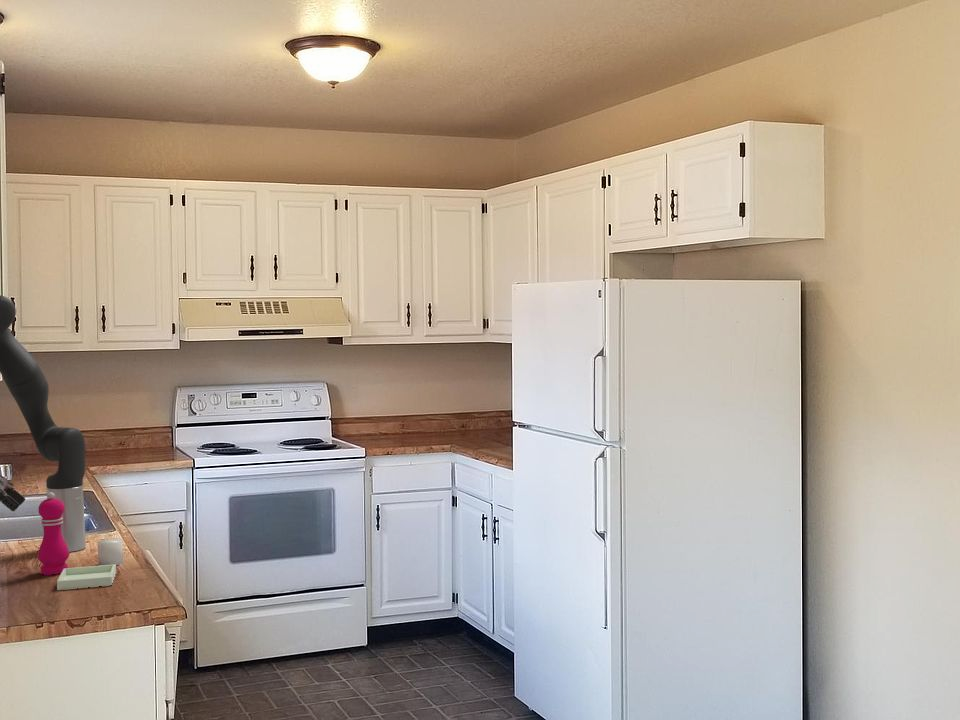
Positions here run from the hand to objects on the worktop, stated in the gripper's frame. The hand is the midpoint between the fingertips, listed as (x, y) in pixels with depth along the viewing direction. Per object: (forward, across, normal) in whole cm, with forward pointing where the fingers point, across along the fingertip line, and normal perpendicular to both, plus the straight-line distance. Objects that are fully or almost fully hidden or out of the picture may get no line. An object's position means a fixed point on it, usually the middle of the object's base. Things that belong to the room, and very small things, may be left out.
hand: (19, 505), depth 264 cm
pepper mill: (+17, 0, +7) cm, 19 cm away
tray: (+24, -12, +1) cm, 27 cm away
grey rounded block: (+26, +4, -2) cm, 27 cm away
